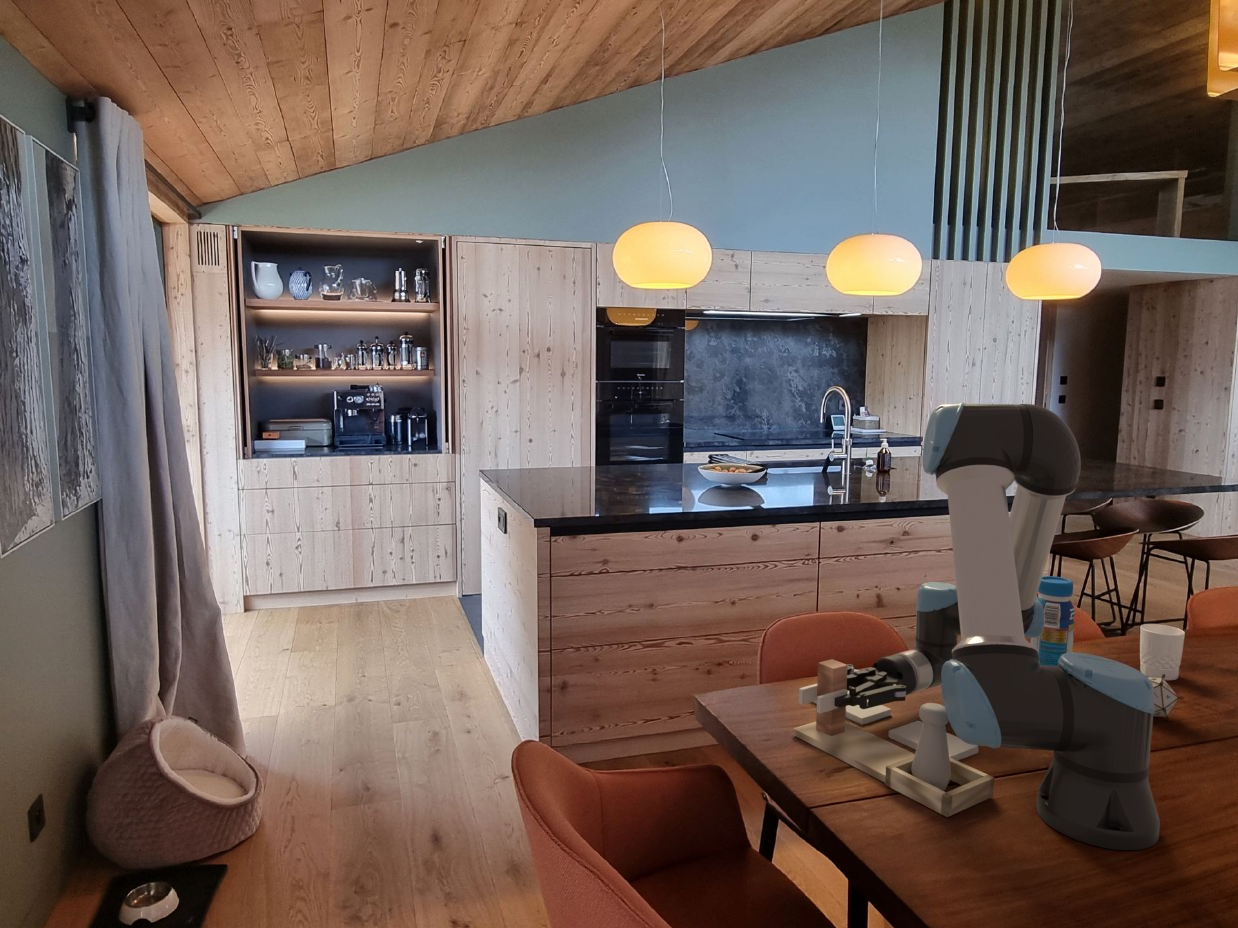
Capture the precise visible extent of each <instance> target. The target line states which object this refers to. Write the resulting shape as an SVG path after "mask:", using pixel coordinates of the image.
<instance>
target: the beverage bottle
mask: <svg viewBox="0 0 1238 928" xmlns="http://www.w3.org/2000/svg"><path fill="white" fill-rule="evenodd" d="M1073 590H1074V582H1073V580H1071V579H1069V578H1066V577H1061V576H1054V575H1053V576H1051V575H1045V576H1044V575H1043V576H1042V579H1041V582H1040V586H1039V589H1038V593H1037V594H1038V595H1039V596H1038V597H1036V599H1037V600H1039V601H1040V603H1041V604H1042V606H1043V610H1044V616H1045V620H1044V629H1043V631H1042V633H1041V634H1040V635H1039V636H1038V637H1036V638H1030V642H1029V643H1030V644H1032V645H1033V646H1034V647H1035V648H1037V649H1038V655H1039V662H1040V665H1045V666H1059V665H1058V660H1059V659H1060V656H1061V655H1062V654H1065V653H1067V654H1068V653H1073V652H1074V651H1073V649H1074V637H1075V629H1076V621H1075V619H1074V617H1075V616H1076V608H1075V606H1074V605H1073V603H1072V601H1071V598H1072V596H1073V595H1074V593H1073V592H1074V591H1073Z"/></svg>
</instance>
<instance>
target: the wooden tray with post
mask: <svg viewBox="0 0 1238 928" xmlns="http://www.w3.org/2000/svg"><path fill="white" fill-rule="evenodd" d="M816 684H817V697H818V696H821V695H825V694H828V693H832V692H835V691H839V690H842V689H846V690H847V663H843V662H840V661H838V660H835V659H833V658H831V659H828V660H823V661H820V662H817V682H816ZM815 711H816V717H815V721H813V722H809V723H807V724H803V725H800V726H799V725H798V726H797V727H793V729H792V736H795V737H797V738H798V739H800V740H802V741H804V742H806V743H807V744H810V745H811V746H813V747H815V748H817V749H819V750H821V751H823V752H826V753H827V754H829V755H831V756H833V757H835V758H837V759H839V760H840V761H842V762H844V763H846V764H848V765H850V766H852V767H854V768H855V769H858V770H860V772H861V771H862V772H863V773H866V774H867V775H869V776H871V777H873V778H874V779H877V780H879V781H880V782H883V783H884V785H885V786H887V787H889V788H891V789H892V790H894V791H896V792H897V793H900V794H902V795H904V796H905V797H907V798H909V799H912V800H914V801H915V802H917V803H918V804H921V805H923V806H925V807H927V808H929V809H930V810H932V811H934V812H936V813H939V814H940V815H942V816H944V817H946V818H949V817H951V816H953V815H955V814H958V813H959V812H962V811H964V810H966V809H969V808H971V807H973V806H975V805H977V804H979V803H982V802H984V801H987V800H989V799H992V798H993V797H994V787H995V777H994V776H991V775H990V774H987V773H984V772H983V771H981V770H979V769H976V768H975V767H972V766H969V765H968V764H966V763H962V762H961V761H960V760H958V761H956V760H954V759H952V758H950V757H949V759H950V767H951V779H950V781H952V782H954V783H956V784H959V786H958V787H956V788H954V789H951V790H949V791H947V792H946V791H945V790H944V791H942V790H940V789H938V788H936V787H934V786H932V785H930V784H928V783H926V782H924V781H922V780H920V779H918V778H916V777H914V776H913V774H912V772H911V767H912V763H913V759H914V756H915V753H913V751H912V752H911V751H909V750H907V749H905V748H902V747H901V746H898V745H896V744H894V743H892V742H890V741H888V740H885V739H884V738H881V737H880V736H877V735H875V734H873V733H870V732H868V731H866V730H865V729H863V728H860V727H858V726H856V725H855V724H854V725H853V724H852V723H850V722H847V721H846V719H847V718H846V706H845V707H840V708H837V709H833V710H830V711H827V712H823V713H818V712H817V710H815Z"/></svg>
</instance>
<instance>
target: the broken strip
mask: <svg viewBox="0 0 1238 928" xmlns="http://www.w3.org/2000/svg"><path fill="white" fill-rule="evenodd" d="M848 694H849V691H848ZM867 702H868V700H867ZM812 703H813V704H816V705H817V701H813V702H812ZM859 706H860V705H856V706H850V705H848V706H846V719H848V720H850V721H853V722H855V723H856V724H859V725H862V726H863V725H866V724H868V723H872V722H875V721H877V720H881V719H884V718H887V717H890V716H892V708H890V707H887V706H885V705H884V704H883V705H879V706H875V707H871V708H868V709H861V708H860V707H859ZM922 726H923V721H922V720H916V721H913V722H909V723H908V724H904V725H902V726H898V727H895V728H892V729H889V730H888V738H890V739H892V740H894V741H896V742H898V743H900V744H903V745H905V746H907V747H909V748H911V749H913V750H915V751H916V749H917V745H918V741H919V738H920V734H921V730H922ZM946 736H947V744H948V751H949V757H950V758H952V759H954V760H956V761H961V760H964V759H966V758H969V757H970V756H973V755H976V754H978V753H979V745H972V744H968V743H965V742H964V741H962V740H961V739H960V738H959V737H958V736H957V735H955V734H954V735H953V734H951V733H950V732H949V733H948V732H947V731H946Z"/></svg>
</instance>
